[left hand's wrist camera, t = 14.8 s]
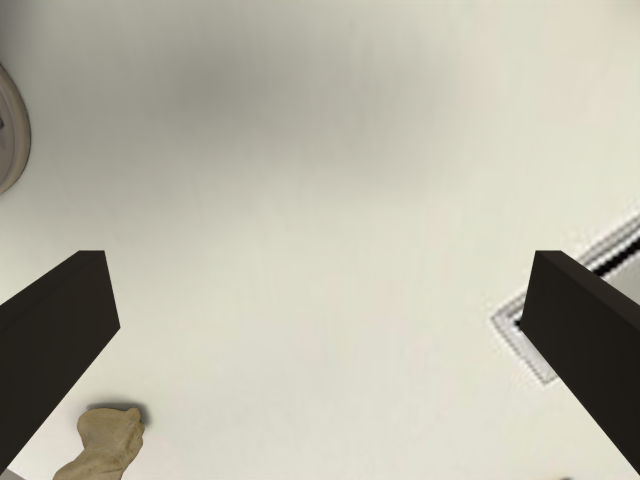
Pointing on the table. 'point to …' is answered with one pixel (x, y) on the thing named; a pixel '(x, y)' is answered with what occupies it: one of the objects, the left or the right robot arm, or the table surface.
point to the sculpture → (105, 445)
